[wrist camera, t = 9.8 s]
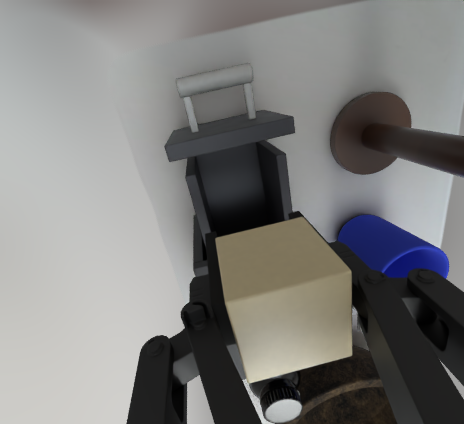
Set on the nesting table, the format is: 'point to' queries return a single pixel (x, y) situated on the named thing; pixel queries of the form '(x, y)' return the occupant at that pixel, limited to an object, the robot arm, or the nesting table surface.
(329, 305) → the cream foam cube
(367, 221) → the mug
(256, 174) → the drawer
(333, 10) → the nesting table surface
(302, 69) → the nesting table surface
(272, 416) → the supplement bottle
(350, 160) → the paper towel holder
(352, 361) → the bowl
